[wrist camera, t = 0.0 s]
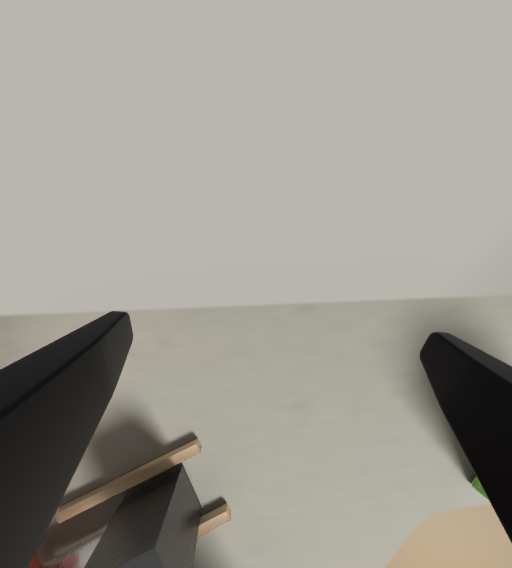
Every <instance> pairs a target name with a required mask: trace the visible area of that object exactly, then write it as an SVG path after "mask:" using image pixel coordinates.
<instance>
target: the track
mask: <svg viewBox="0 0 512 568" xmlns="http://www.w3.org/2000/svg"><path fill="white" fill-rule="evenodd" d="M201 448H202V447H201V444H200V442H199V440H198V438H197V439H195V440H193V441H191V442H189V443H187V444H185V445H183V446H181V447H179V448H177V449H175V450H173V451H171V452H169V453H167V454H165V455H163V456H161V457H159V458H157V459H155V460H153V461H151V462H149V463H147V464H145V465H143V466H141V467H139V468H137V469H135V470H133V471H131V472H129V473H127V474H125V475H123V476H121V477H119V478H117V479H115V480H113V481H111V482H109V483H107V484H105V485H103V486H101V487H99V488H97V489H95V490H93V491H91V492H89V493H87V494H85V495H83V496H81V497H79V498H77V499H75V500H73V501H71V502H69V503H67V504H65V505H63V506H61V507H60V509H59V510H58V511H57V512H56V513H55V516H56V519H57V521H58V523H61V522H63V521H65V520H67V519H69V518H71V517H73V516H75V515H77V514H79V513H81V512H83V511H85V510H87V509H89V508H91V507H93V506H95V505H97V504H99V503H101V502H103V501H105V500H107V499H109V498H111V497H113V496H115V495H117V494H119V493H121V492H123V491H125V490H127V489H129V488H131V487H133V486H135V485H137V484H139V483H141V482H143V481H145V480H147V479H149V478H151V477H153V476H155V475H157V474H159V473H161V472H163V471H165V470H167V469H169V468H171V467H173V466H175V465H177V464H179V463H181V462H183V461H185V460H187V459H189V458H191V457H193V456H195V455H197V454H199V453H200V452H201ZM230 520H231V511H230V509H229V506H228V504H227V503H226V504H224V505H222V506H220V507H218V508H217V509H215V510H213V511H211V512H209V513H207V514H205V515H203V516H201V518H200V524H199V530H198V536H197V537H199V536H201V535H203V534H205V533H207V532H209V531H211V530H213V529H215V528H216V527H218V526H220V525H222V524H224V523H226V522H228V521H230Z"/></svg>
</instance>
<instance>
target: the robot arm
mask: <svg viewBox="0 0 512 568" xmlns="http://www.w3.org/2000/svg"><path fill="white" fill-rule="evenodd" d="M132 340H133V332H132V327H131V322H130V317H129V314H128V313H127V312H120V311H112V312H109V313H107V314H105V315H104V316H102V317H100V318H98V319H96V320H94V321H92V322H90V323H88V324H86V325H85V326H83V327H81V328H79V329H77V330H75V331H73V332H71V333H69V334H67V335H66V336H64V337H62V338H60V339H58V340H56V341H54V342H52V343H50V344H48V345H46V346H45V347H43V348H41V349H39V350H37V351H35V352H33V353H31V354H29V355H27V356H25V357H24V358H22V359H20V360H18V361H16V362H14V363H12V364H10V365H8V366H6V367H5V368H3V369H1V370H0V568H28V567H29V565H30V563H31V561H32V559H33V557H34V555H35V553H36V551H37V549H38V546H39V544H40V542H41V540H42V538H43V536H44V534H45V532H46V530H47V528H48V526H49V524H50V522H51V520H52V518H53V516H54V514H55V512H56V510H57V508H58V506H59V504H60V502H61V500H62V497H63V495H64V493H65V491H66V489H67V487H68V485H69V483H70V481H71V479H72V477H73V475H74V473H75V471H76V469H77V467H78V465H79V463H80V461H81V459H82V457H83V455H84V453H85V451H86V448H87V446H88V444H89V442H90V440H91V438H92V436H93V434H94V432H95V430H96V428H97V426H98V424H99V422H100V420H101V418H102V416H103V414H104V412H105V410H106V408H107V406H108V404H109V402H110V399H111V397H112V395H113V393H114V390H115V388H116V385H117V383H118V380H119V377H120V374H121V372H122V369H123V366H124V363H125V361H126V358H127V355H128V352H129V349H130V347H131V344H132ZM420 360H421V362H422V365H423V367H424V369H425V372H426V374H427V377H428V379H429V381H430V384H431V386H432V389H433V391H434V393H435V396H436V398H437V401H438V403H439V405H440V407H441V409H442V411H443V413H444V415H445V417H446V419H447V421H448V423H449V425H450V427H451V429H452V431H453V432H454V434H455V436H456V438H457V440H458V442H459V444H460V446H461V448H462V450H463V451H464V453H465V455H466V457H467V459H468V461H469V463H470V465H471V467H472V469H473V470H474V472H475V474H476V476H477V478H478V480H479V482H480V484H481V486H482V488H483V489H484V491H485V493H486V495H487V497H488V499H489V501H490V503H491V505H492V507H493V508H494V510H495V512H496V514H497V516H498V518H499V520H500V522H501V524H502V526H503V527H504V529H505V531H506V533H507V535H508V537H509V539H510V541H511V542H512V366H510V365H508V364H506V363H504V362H502V361H500V360H498V359H496V358H495V357H493V356H491V355H489V354H487V353H485V352H483V351H481V350H479V349H477V348H476V347H474V346H472V345H470V344H468V343H466V342H464V341H462V340H460V339H459V338H457V337H455V336H453V335H451V334H449V333H444V332H433V333H431V334H430V335H429V337H428V339H427V340H426V342H425V344H424V346H423V347H422V349H421V351H420Z"/></svg>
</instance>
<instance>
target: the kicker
mask: <svg viewBox="0 0 512 568" xmlns="http://www.w3.org/2000/svg"><path fill="white" fill-rule="evenodd" d="M201 513H202V507H201V505H200V503H199V501H198V499H197V496H196V494H195V492H194V490H193V487H192V485H191V483H190V481H189V479H188V476H187V474H186V472H185V470H184V467H183V465H182V466H180V467H178V468H176V469H174V470H172V471H170V472H168V473H166V474H164V475H162V476H160V477H158V478H156V479H154V480H152V481H150V482H148V483H146V484H144V485H142V486H140V487H138V488H136V489H134V490H132V491H130V492H128V493H126V495H125V496H124V498H123V500H122V502H121V504H120V505H119V507H118V509H117V511H116V512H115V514H114V516H113V518H112V519H111V521H110V523H109V525H108V526H107V528H106V530H105V532H104V533H102V534H100V535H98V536H96V537H94V538H92V539H90V540H88V541H86V542H84V543H82V544H80V545H78V546H76V547H74V548H72V549H70V550H68V551H66V552H65V553H63V554H61V555H59V556H57V557H55V558H53V559H51V560H49V561H47V562H45V563H44V564H42V565H41V563H40V560H39V558H38V556H37V554H36V553H35V555H34V557H33V559H32V561H31V563H30V565H29V567H28V568H192V564H193V559H194V553H195V547H196V541H197V536H198V530H199V524H200V518H201Z"/></svg>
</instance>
